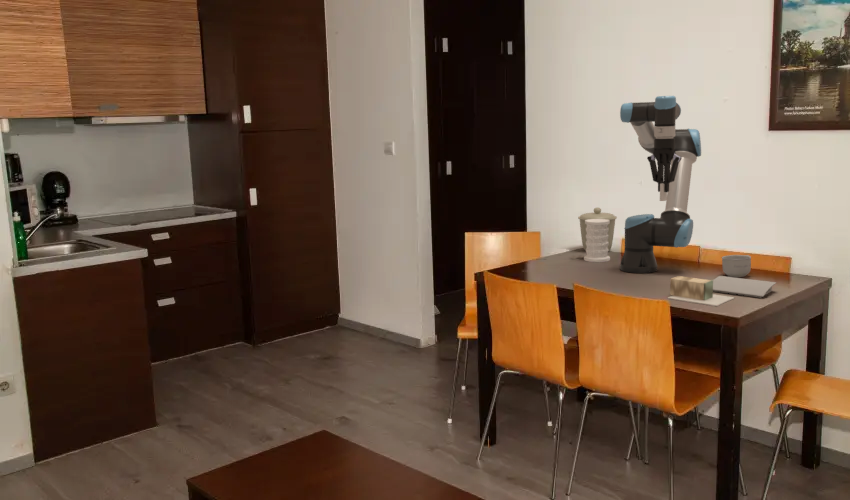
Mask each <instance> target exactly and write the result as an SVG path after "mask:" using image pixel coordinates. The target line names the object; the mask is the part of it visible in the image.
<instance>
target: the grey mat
mask: <svg viewBox="0 0 850 500" xmlns="http://www.w3.org/2000/svg"><path fill="white" fill-rule="evenodd" d="M667 299H668V300H675V301H679V302H685V303H687V302H688V303H692V304H699V305H706V306H713V307H719V306H721V305H724V304H726V303H728V302H730V301H732V300H733V299H734V300H735V296H729V295H720V294H715V293H713V297H712V298H709V299H707V300H700V299H693V298H687V297H680V296H674V295H669V296H668V297H667Z"/></svg>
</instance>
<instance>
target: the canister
mask: <svg viewBox="0 0 850 500" xmlns="http://www.w3.org/2000/svg"><path fill="white" fill-rule="evenodd" d="M617 218H618V217H617V216H615V214H613V213H610V212H609V213H608V212H602V208H600V207H595V208H594V209H593V212H587V213H586V212H585V213H582V214H581V215H580V216H578V220H579V227H580V228H579V229H580V237H581V245H582V249H583V250H584V251H586V248H587V246H586V241H587V239H586V234H587V232H586V227H587V225H586V224H585V220H588V219H607V220H610V224H608V228H609V231H608V236H609V237H608V243H609V244H608V250H609V251H610V250H611V249H612V246H613V241H614V234H615V225H616V220H617Z"/></svg>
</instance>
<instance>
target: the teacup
mask: <svg viewBox="0 0 850 500" xmlns="http://www.w3.org/2000/svg"><path fill="white" fill-rule="evenodd" d="M721 262H722V264H721V265H722V272H723V273H724V274H725V275H726V277H734V278H744V277H746V276H747V275H749V274H750V272H751V267H752V256H751V255H748V254H746V255H745V254H731V255H730V254H729V255H724V256H722V257H721Z"/></svg>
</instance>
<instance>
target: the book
mask: <svg viewBox="0 0 850 500" xmlns="http://www.w3.org/2000/svg"><path fill="white" fill-rule="evenodd" d="M712 280H713V293H714V292H715V293H722V294H728V293H729V295H736V294H738V296H739V295H740V296H743V295H744V296H745V297H753V298H762V297H764V296H766V295H768V294H770V293H771V292H773V291H772V290H773V287H774V286H775V285H776V284H777V282H775V281H767V280H759V279H749V278H743V277H729V276H727V275H726V276H725V275H724V276H723V275H718V276H717V277H716V278H714V279H712Z"/></svg>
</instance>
